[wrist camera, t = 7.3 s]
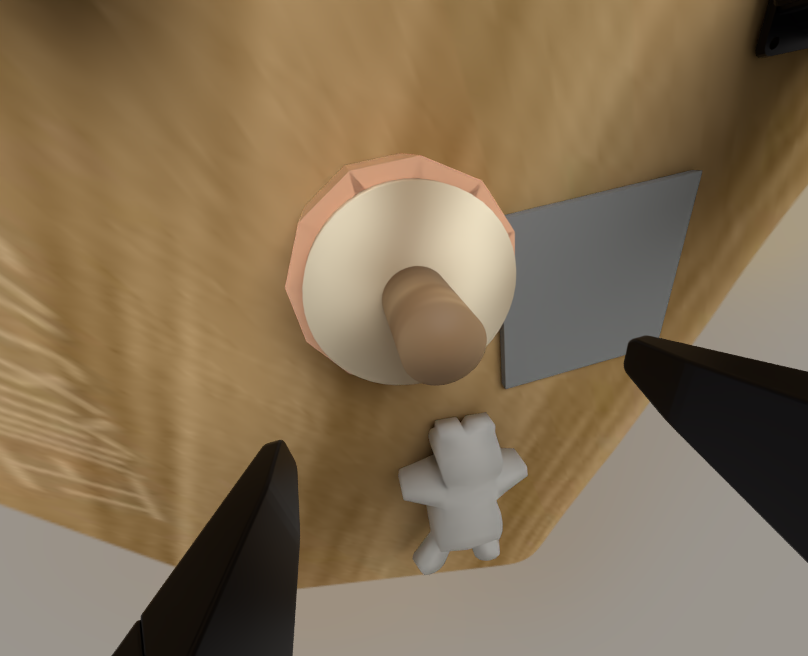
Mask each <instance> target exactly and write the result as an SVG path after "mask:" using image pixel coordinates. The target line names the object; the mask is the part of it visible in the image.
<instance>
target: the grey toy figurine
mask: <svg viewBox="0 0 808 656" xmlns="http://www.w3.org/2000/svg"><path fill="white" fill-rule="evenodd" d="M428 437H429V442H430V445H431V448H432V450H433V453H434V454H433V455H431V456H429V457H427V458H425V459H422V460H420V461H417V462H415V463H413V464H410V465H408V466H406V467H403V468H401V469H399V474H398V477H399V481H400V486H401V490H402V495H403V499H404V500H406V501H411V502H415V503H420V504H424V505H427V511H428V518H429V524H430V530H431V531H430V533H429V534H428V535H427V537H426V538H425V539H424V541H423V542H422V543H421V545H420V546H419V547H418V549H417V550H416V551H415V552H414V554H413V560H414V562H415V563H416V565H417V566H418V568H419V569H420V571H421V572H422V573H423V574H424V575H429V574H432V573H435V572H436V571H438V570H439V569H440V568H441V567H442V566H443V565H444V563H445V561H446V558H447V556H448V554H449V551H457V550H468V549H471V548H472V549H473V552H474V554H475V556H476V557H477V558H478V559H480V560H492V559H495V558H496V557H497V556H498V555H499V554H500V549H499V539H500V536H501V534H502V517H501V512H500V510H499V507H498V504H497V501H496V500H497V499H498V498H499V497H500V496H502V495H503V494H504V493H505V492H506V491H508V490H509V489H510V488H512V487H513V486H514V485H516V484H517V483H518V482H520V481H521V480H522V479H524V478H525V477H527V476H528V474H527V466H526V464H525V463H524V462H523V460H522V459H521V457H520V456H519V455H518V453H517V452H516V450H515V449H514V448H500V446H499V443H498V440H497V437H496V434H495V424H494V423H493V422H492V420H491V419H490V417H489V416H488V414H487V413H486V412H484V413H478V414H471V415H465V417H464V418H463V420H462V422H461V423H460V421H459V420H458V419H457V417H453V418H446V419H440V420H435V427H434V428H432V429H430V431H429V435H428Z"/></svg>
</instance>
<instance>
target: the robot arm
mask: <svg viewBox="0 0 808 656" xmlns="http://www.w3.org/2000/svg"><path fill="white" fill-rule="evenodd" d="M806 48H808V0H769V4H768V7H767V11H766V14H765V18H764V21H763V25H762V28H761V32H760V35H759V39H758V42H757V46H756V51H755V52H756V56H757V57H758V58H763V57H768V56H773V55H778V54H783V53H787V52H792V51H797V50H801V49H806ZM624 369H625V371H626V373H627V374H628V376H629V377H630V378H631V379H632V380H633V382H634V383H635V384H636V385H637V386H638V388H639V389H640V390H641V391H642V392H643V394H644V395H645V396H646V397H647V399H648V400H649V401H650V402H651V403H652V405H653V406H654V407H655V408H656V409H657V410H658V412H659V413H660V414H661V415H662V416H663V418H664V419H665V420H666V421H667V422H668V423H669V424H670V425H671V426H672V427H673V428H674V429H675V430H676V431H677V432H678V433H679V434H680V435H681V436H682V437H683V438H684V439H685V440H686V441H687V442H688V443H689V444H690V445H691V446H692V447H693V448H694V449H695V450H696V451H697V452H698V453H699V454H700V455H701V456H702V457H703V458H704V459H705V460H706V461H707V462H708V463H709V464H710V465H711V466H712V467H713V468H714V469H715V470H716V471H717V472H718V473H719V474H720V475H721V476H722V477H723V478H724V479H725V480H726V481H727V482H728V483H729V484H730V485H731V486H732V487H733V488H734V489H735V490H736V491H737V492H738V493H739V494H740V495H741V496H742V497H743V498H744V499H745V500H746V501H747V502H748V503H749V504H750V505H751V506H752V508H754V510H755V511H756V512H758V513H759V515H761V517H762V518H763V519H765V521H766V522H767V523H768V524H769V525H771V527H772V528H773V529H775V531H776V532H777V533H779V535H780V536H781V537H782V538H784V540H785V541H786V542H787V543H788V544H790V546H791V547H793V549H794V550H796V552H798V554H799V555H800V556H801V557H802V558H803V559H804V560H805V561H806V562H807V563H808V372H807V371H802V370H798V369H793V368H789V367H785V366H780V365H775V364H772V363H767V362H763V361H759V360H754V359H750V358H745V357H741V356H737V355H732V354H728V353H723V352H718V351H715V350H710V349H705V348H701V347H697V346H693V345H688V344H684V343H679V342H675V341H671V340H666V339H662V338H657V337H653V336H648V335H645V336H641V337H637V338H634V339H631V340H630V341H629V342H628V345H627V350H626V355H625V360H624ZM299 548H300V519H299V497H298V474H297V466H296V462H295V460H294V458H293V456H292V454H291V453H290V451H289V449H288V447H287V445H286V443H285V442H284V441H283V440H277V441H274V442H270V443H267V444H265V445H264V446H263V447H262V448H261V449H260V451H259V452H258V454H257V455H256V456H255V458H254V459H253V461H252V462H251V463H250V465H249V466H248V468H247V469H246V470H245V472H244V473H243V474H242V476H241V477H240V479H239V480H238V481H237V483H236V484H235V486H234V487H233V488H232V490H231V491H230V493H229V494H228V495H227V497H226V498H225V499H224V501H223V502H222V504H221V505H220V506H219V508H218V509H217V511H216V512H215V513H214V515H213V516H212V517H211V519H210V520H209V522H208V523H207V524H206V526H205V527H204V529H203V530H202V531H201V533H200V534H199V536H198V537H197V538H196V540H195V541H194V542H193V544H192V545H191V547H190V548H189V549H188V551H187V552H186V554H185V555H184V556H183V558H182V559H181V561H180V562H179V563H178V565H177V566H176V567H175V569H174V570H173V572H172V573H171V574H170V576H169V578H168V579H167V580H166V581H165V583H164V584H163V585H162V587H161V588H160V590H159V591H158V593H157V594H156V595H155V597H154V598H153V599H152V601H151V602H150V604H149V605H148V606H147V608H146V609H145V611H144V612H143V613H142V615H141V620H139V621H137V622H136V623H135V624H134V625H133V627H132V628H131V630H130V631H129V633H128V634H127V635H126V637H125V638H124V640H123V641H122V642H121V644H120V645H119V646H118V648H117V649H116V651H115V652H114V653H113V655H112V656H292V655H293V640H294V625H295V610H296V594H297V579H298V563H299Z"/></svg>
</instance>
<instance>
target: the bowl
mask: <svg viewBox="0 0 808 656" xmlns="http://www.w3.org/2000/svg"><path fill="white" fill-rule="evenodd" d="M403 178H422V179H429V180H435V181H438V182H442V183H445V184H449V185H452V186H455V187H458V188H460V189H462V190H464V191H466V192H468V193H470V194H472V195H473V196H475V197H476V198H478V199H479V200H481V201H482V202H483V203H484V204H485V205H486V206H488V207H489V208H490V209H491V210H492V211H493V212H494V214H495V215H496V216H497V217H498V219H499V220H500V221H501V223H502V224H503V226H504V228H505V230H506V232H507V233H508V236H509V238H510V241H511V244H512V246H513V251H514V255H515V231H514V230H513V228H512V226H511V225H510V223H509V222H508V220H507V219H506V217H505V215H504V214H503V212H502V211H501V209H500V208H499V206H498V204H497V203H496V201H495V200H494V198H493V197H492V195H491V193H490V192H489V190H488V189H487V187H486V186H485V184H484V182H483V181H482V180H479V179H477V178H475V177H472V176H470V175H467V174H465V173H462V172H460V171H458V170H455V169H453V168H450V167H448V166H445V165H443V164H441V163H438V162H436V161H433V160H431V159H428V158H426V157H424V156H421V155H413V154H403V153H399V154H395V155H390V156H385V157H381V158H376V159H372V160H367V161H362V162H358V163H353V164H349V165H344V166H343V167H342V168H341V169H340V170H339V171H338V172H337V173H336V175H335V176H334V177H333V178H332V179H331V180H330V181H329V182H328V183H327V184H326V185H325V186H324V187H323V188H322V189H321V190H320V191H319V192H318V193H317V194H316V195H315V196H314V197H313V198H312V199H311V200H310V201H309V202H308V203H307V204H306V205H305V206H304V209H303V211H302V214H301V216H300V219H299V222H298V226H297V231H296V236H295V241H294V246H293V250H292V255H291V260H290V265H289V270H288V275H287V280H286V285H285V289H286V292H287V294H288V297H289V299H290V302H291V304H292V307H293V309H294V312H295V314H296V317H297V319H298V322H299V324H300V327H301V329H302V332H303V334H304V337H305V339H306V342H307V343H309V344H310V345H311V346H313V347H314V348H315V349H317V350H318V351H319V352H321V353H322V354H323V355H325V356H326V357H327V358H329V357H328V356H327V355H326V353H325V352H324V351H323V350H322V349H321V348H320V346H319V345H318V343H317V342H316V340H315V339H314V337H313V335H312V332H311V330H310V328H309V326H308V323H307V320H306V316H305V313H304V306H303V292H302V286H303V279H304V271H305V266H306V262H307V258H308V255H309V251H310V248H311V246H312V244H313V242H314V240H315V237H316V235H317V234H318V232H319V231H320V229H321V228H322V226H323V224H324V223H325V222H326V221H327V219H328V218H329V217H330V216H331V215H332V214H333V212H334V211H335V210H336V209H338V208H339V207H340V206H341V205H342V204H343V203H344V202H346V201H347V200H348V199H350V198H351V197H353V196H354V195H356V194H357V193H359V192H361V191H363V190H365V189H367V188H369V187H371V186H374V185H377V184H380V183H383V182H386V181H391V180H397V179H403ZM329 359H330V358H329ZM330 360H331V359H330ZM331 361H333V360H331ZM333 362H334V361H333ZM334 363H335V362H334ZM335 364H336V363H335ZM339 367H340V366H339ZM342 369H343V368H342ZM343 370H344V369H343ZM345 371H346V370H345ZM346 372H347V373H349V372H348V371H346ZM349 374H351V373H349Z"/></svg>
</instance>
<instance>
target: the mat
mask: <svg viewBox="0 0 808 656" xmlns="http://www.w3.org/2000/svg"><path fill="white" fill-rule="evenodd" d="M701 175H702V171H699V170H690V171H686V172H682V173H678V174H674V175H670V176H665V177H661V178H657V179H653V180H649V181H645V182H640V183H636V184H632V185H628V186H624V187H620V188H615V189H611V190H607V191H603V192H599V193H595V194H590V195H586V196H582V197H578V198H574V199H570V200H565V201H561V202H557V203H553V204H549V205H545V206H540V207H536V208H532V209H528V210H524V211H520V212H515V213H511V214H507V215H505V217H506V219H507V220H508V222H509V223H510V225H511V226H512V228H513V230H514V231H515V261H516V285H515V291H514V297H513V300H512V303H511V306H510V309H509V312H508V314H507V316H506V319H505V321H504V322H503V324H502V326H501V328H500V341H501V369H502V385H503V386H504V387H505V389H508V388H511V387H515V386H518V385H522V384H525V383H529V382H532V381H536V380H539V379H543V378H546V377H550V376H553V375H557V374H560V373H564V372H567V371H571V370H574V369H578V368H581V367H585V366H588V365H592V364H595V363H598V362H602V361H605V360H609V359H612V358H616V357H619V356H623V355H626V350H627V345H628V342H629V341H630V340H631V339H634V338H637V337H641V336H645V335H648V336H653V337H657V338H659V336H660V332H661V328H662V324H663V321H664V317H665V313H666V309H667V305H668V301H669V298H670V294H671V290H672V286H673V282H674V278H675V275H676V271H677V267H678V263H679V259H680V255H681V251H682V248H683V244H684V240H685V236H686V232H687V228H688V225H689V221H690V217H691V213H692V209H693V205H694V202H695V198H696V194H697V190H698V186H699V182H700V178H701Z"/></svg>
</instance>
